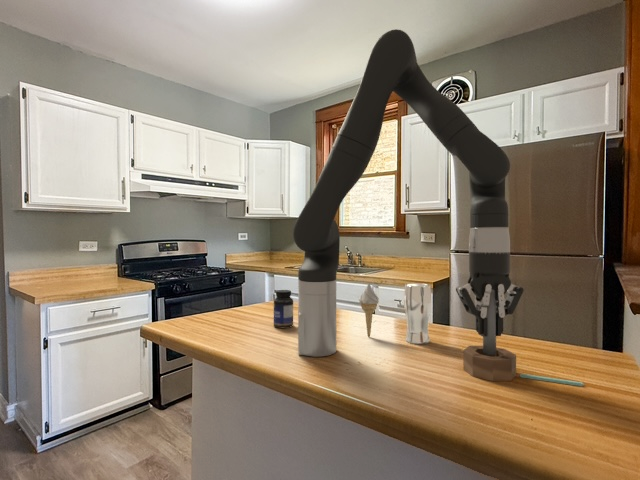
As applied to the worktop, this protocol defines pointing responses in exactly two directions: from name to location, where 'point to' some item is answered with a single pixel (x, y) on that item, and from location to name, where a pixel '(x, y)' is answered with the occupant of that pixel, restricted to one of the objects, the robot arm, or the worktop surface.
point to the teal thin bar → (551, 379)
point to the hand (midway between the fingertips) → (489, 334)
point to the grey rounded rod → (490, 328)
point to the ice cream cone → (368, 305)
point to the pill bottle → (283, 309)
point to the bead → (489, 364)
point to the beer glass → (417, 312)
